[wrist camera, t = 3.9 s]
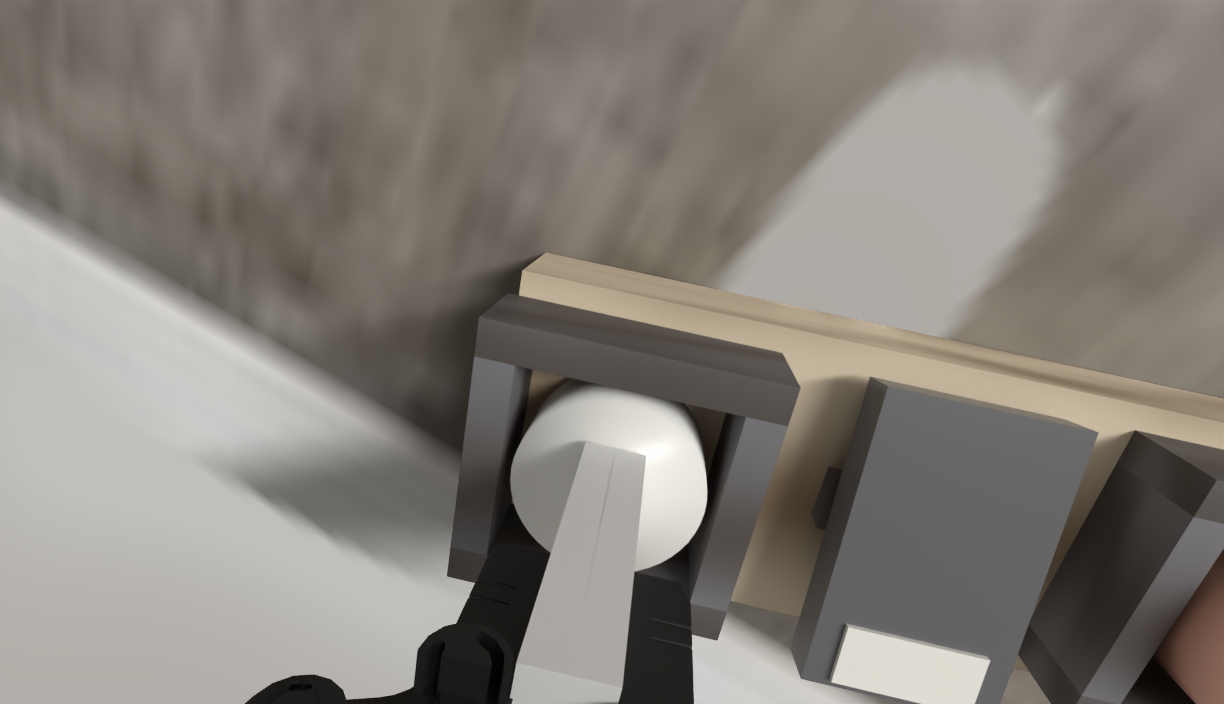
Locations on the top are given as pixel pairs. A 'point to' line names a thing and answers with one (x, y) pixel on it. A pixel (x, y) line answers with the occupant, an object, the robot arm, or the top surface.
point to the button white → (619, 424)
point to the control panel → (818, 446)
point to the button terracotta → (1198, 641)
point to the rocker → (937, 545)
